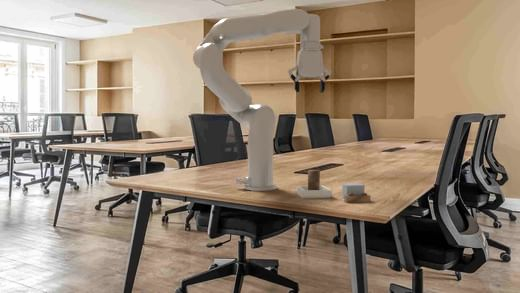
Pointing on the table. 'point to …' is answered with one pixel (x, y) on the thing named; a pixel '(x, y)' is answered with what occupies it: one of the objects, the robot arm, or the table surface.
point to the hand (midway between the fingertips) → (309, 92)
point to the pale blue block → (352, 189)
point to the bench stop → (357, 198)
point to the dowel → (313, 180)
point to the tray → (314, 192)
